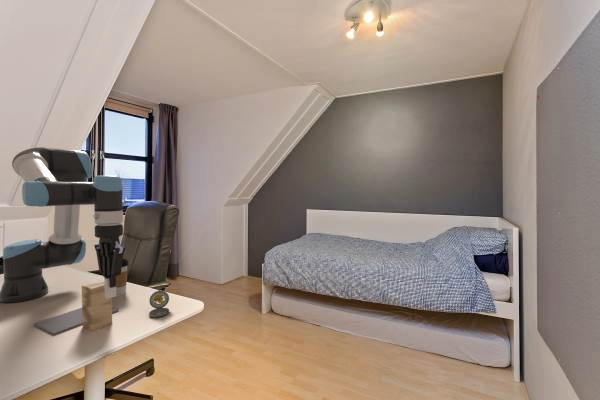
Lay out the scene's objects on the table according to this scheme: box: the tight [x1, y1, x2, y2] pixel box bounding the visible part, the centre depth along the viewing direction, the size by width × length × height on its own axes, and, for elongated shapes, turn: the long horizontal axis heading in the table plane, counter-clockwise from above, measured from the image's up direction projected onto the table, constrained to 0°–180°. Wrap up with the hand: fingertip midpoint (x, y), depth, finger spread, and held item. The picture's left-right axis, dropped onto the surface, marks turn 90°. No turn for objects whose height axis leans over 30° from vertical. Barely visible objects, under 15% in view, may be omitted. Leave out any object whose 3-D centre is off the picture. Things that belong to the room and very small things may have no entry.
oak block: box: [81, 280, 113, 332], centre depth 95 cm, size 6×6×14 cm
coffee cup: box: [115, 258, 130, 297], centre depth 123 cm, size 8×8×15 cm
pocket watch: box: [148, 283, 170, 318], centre depth 105 cm, size 8×8×10 cm
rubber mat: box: [32, 306, 120, 336], centre depth 100 cm, size 14×20×1 cm
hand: (110, 296), depth 91 cm, fingers closed
